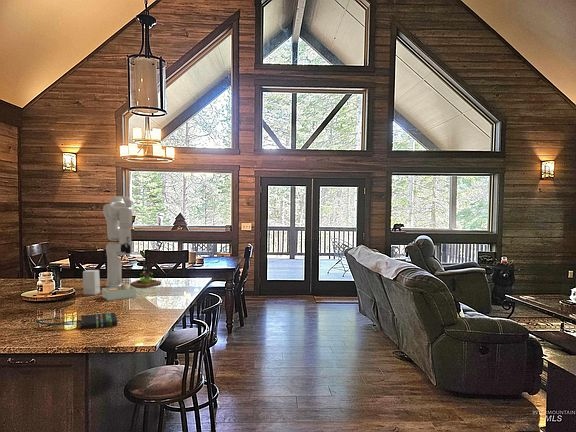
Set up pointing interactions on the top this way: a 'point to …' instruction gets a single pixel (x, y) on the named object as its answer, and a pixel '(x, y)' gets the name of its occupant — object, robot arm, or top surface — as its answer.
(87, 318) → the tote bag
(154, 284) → the plant
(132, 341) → the top surface
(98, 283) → the skincare box
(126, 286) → the birch cylinder
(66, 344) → the top surface
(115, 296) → the sage tote
